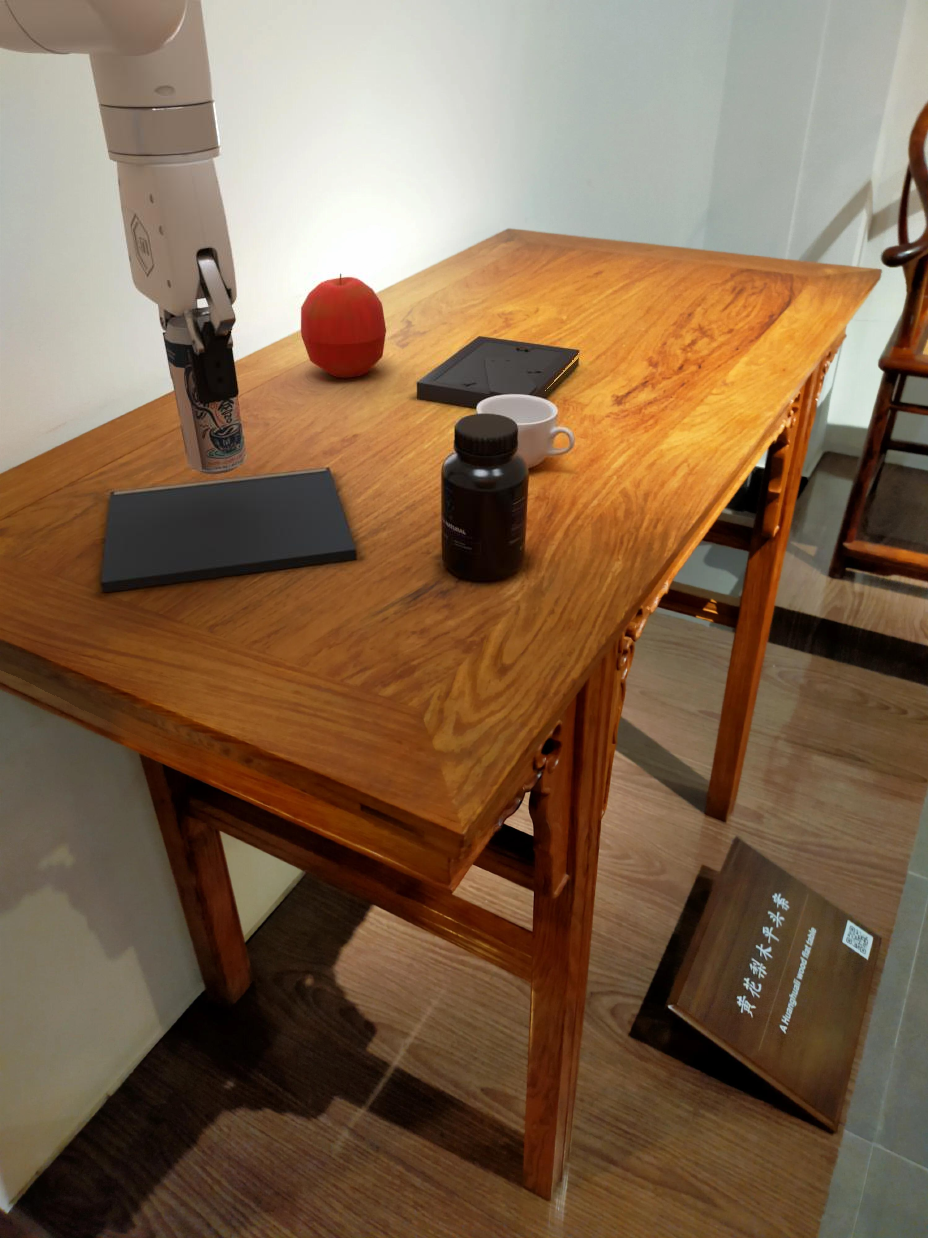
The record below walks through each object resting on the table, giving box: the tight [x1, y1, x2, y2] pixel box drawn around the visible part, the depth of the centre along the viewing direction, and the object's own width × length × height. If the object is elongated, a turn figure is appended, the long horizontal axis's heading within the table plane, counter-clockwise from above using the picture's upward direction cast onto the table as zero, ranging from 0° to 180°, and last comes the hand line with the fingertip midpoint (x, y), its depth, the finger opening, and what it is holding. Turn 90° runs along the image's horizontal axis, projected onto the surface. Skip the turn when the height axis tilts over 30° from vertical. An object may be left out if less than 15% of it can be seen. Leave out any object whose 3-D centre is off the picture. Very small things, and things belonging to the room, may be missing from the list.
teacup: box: [475, 394, 576, 470], centre depth 91 cm, size 10×8×5 cm
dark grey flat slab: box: [100, 466, 358, 594], centre depth 81 cm, size 20×16×1 cm
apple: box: [300, 273, 387, 379], centre depth 110 cm, size 10×10×12 cm
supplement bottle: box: [440, 413, 530, 582], centre depth 74 cm, size 7×7×12 cm
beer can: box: [163, 314, 248, 475], centre depth 75 cm, size 5×5×12 cm
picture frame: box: [416, 335, 580, 409], centre depth 110 cm, size 13×2×18 cm
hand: (204, 386), depth 74 cm, fingers closed on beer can, 4 cm apart
